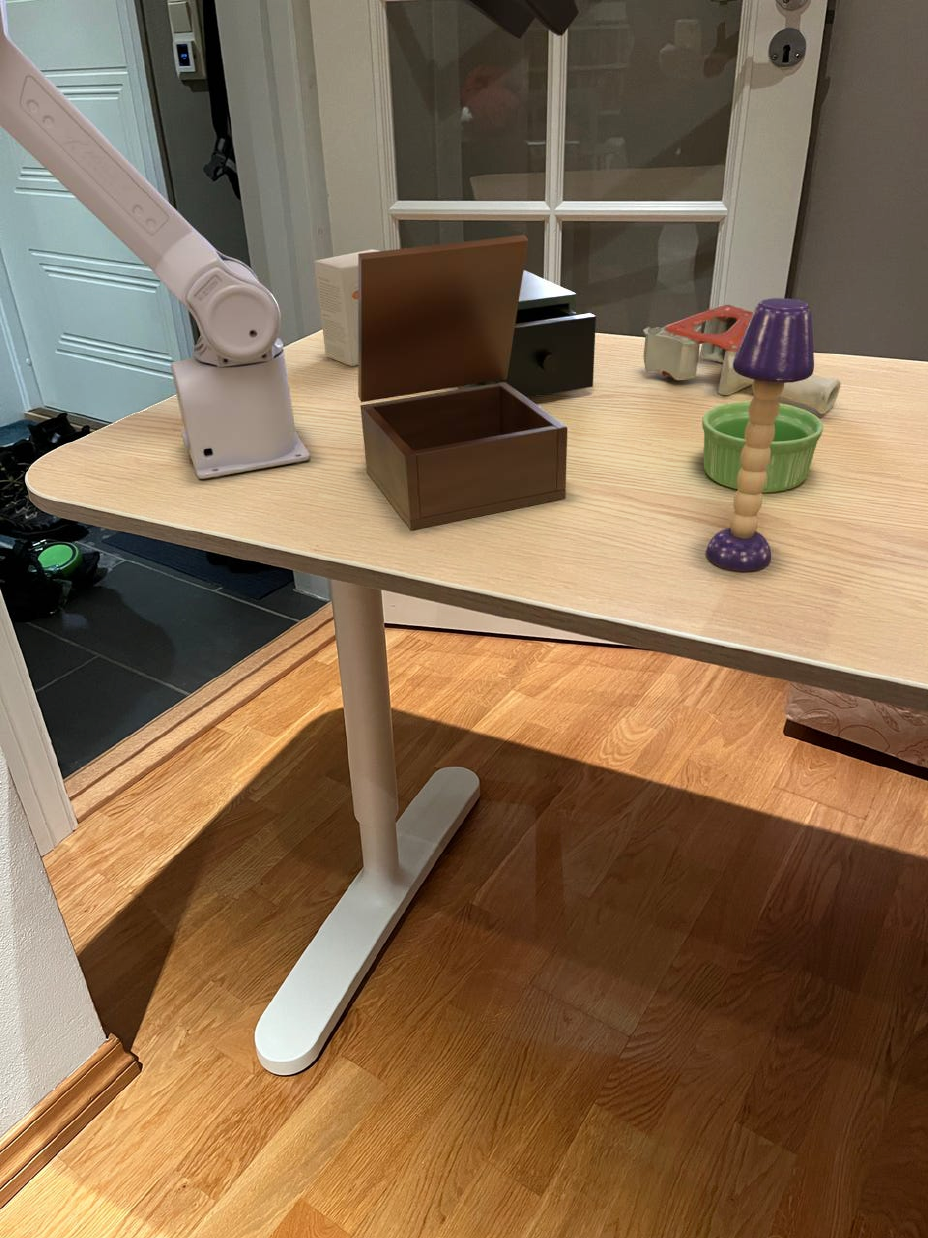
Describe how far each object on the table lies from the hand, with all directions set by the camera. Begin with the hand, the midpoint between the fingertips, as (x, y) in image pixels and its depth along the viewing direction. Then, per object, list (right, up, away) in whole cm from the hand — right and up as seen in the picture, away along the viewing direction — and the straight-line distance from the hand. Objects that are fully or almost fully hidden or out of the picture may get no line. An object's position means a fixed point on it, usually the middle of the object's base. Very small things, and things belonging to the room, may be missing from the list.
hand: (546, 26), depth 70 cm
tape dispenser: (+20, -23, +20) cm, 37 cm away
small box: (-18, -16, +33) cm, 41 cm away
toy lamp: (+12, -42, -9) cm, 45 cm away
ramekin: (+17, -35, +2) cm, 38 cm away
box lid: (-8, -24, -2) cm, 25 cm away
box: (-7, -35, +2) cm, 36 cm away
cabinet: (-3, -19, +27) cm, 33 cm away
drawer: (-1, -22, +21) cm, 30 cm away
